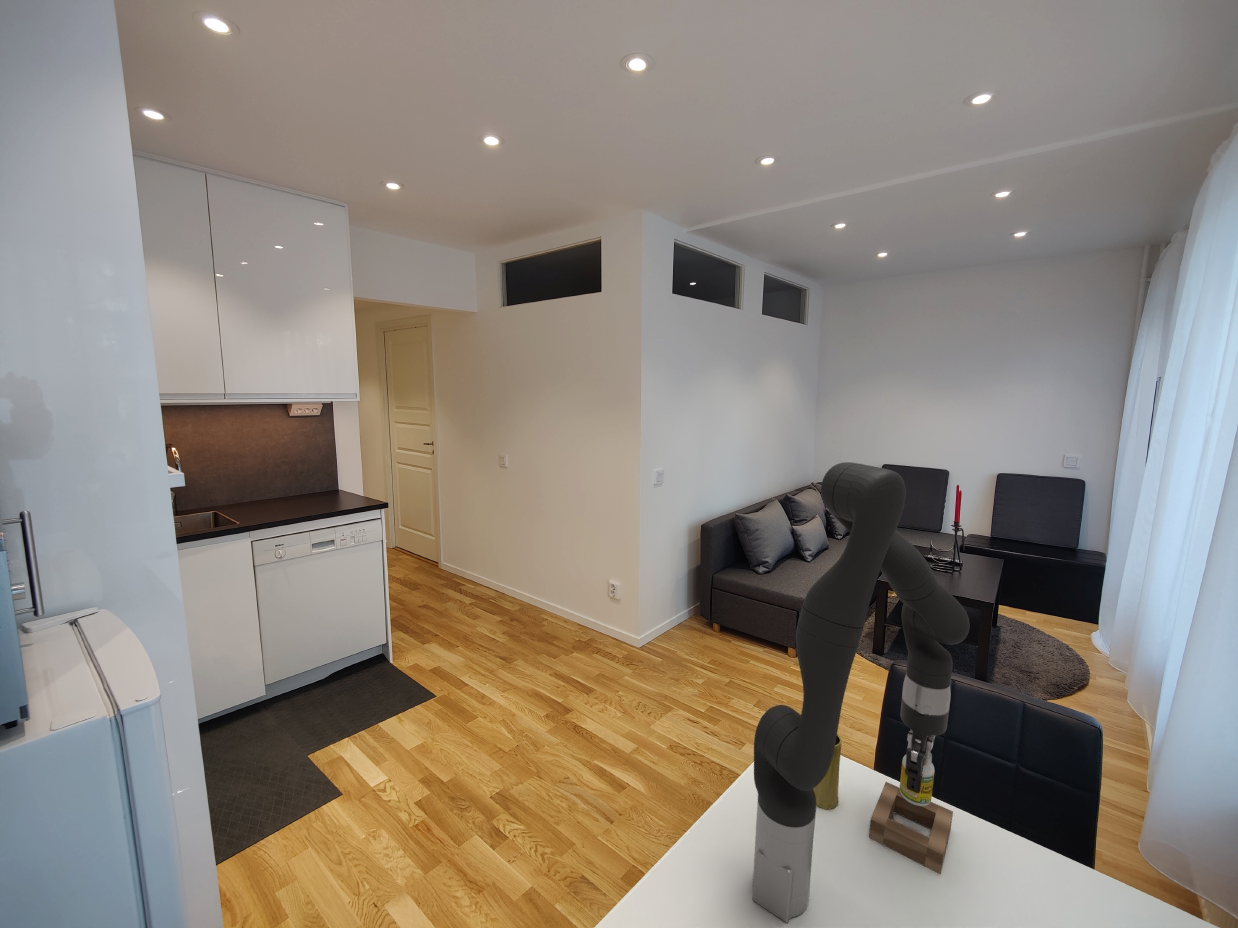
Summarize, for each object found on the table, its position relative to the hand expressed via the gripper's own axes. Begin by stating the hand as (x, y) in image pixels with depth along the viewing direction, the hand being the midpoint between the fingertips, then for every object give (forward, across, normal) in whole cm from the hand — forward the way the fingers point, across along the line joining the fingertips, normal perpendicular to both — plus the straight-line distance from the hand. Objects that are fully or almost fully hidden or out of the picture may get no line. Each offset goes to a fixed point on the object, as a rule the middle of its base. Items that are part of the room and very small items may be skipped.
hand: (916, 779), depth 101 cm
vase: (+12, +2, -16) cm, 20 cm away
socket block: (+12, 0, 0) cm, 12 cm away
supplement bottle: (+4, 0, 0) cm, 4 cm away
